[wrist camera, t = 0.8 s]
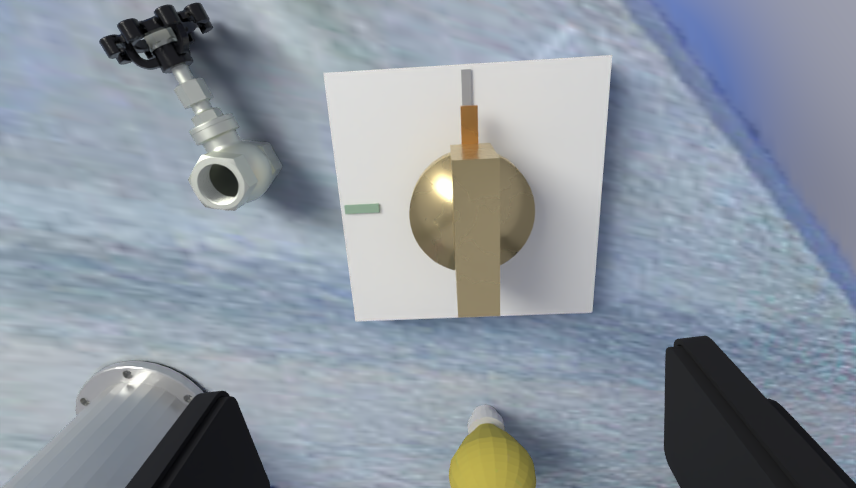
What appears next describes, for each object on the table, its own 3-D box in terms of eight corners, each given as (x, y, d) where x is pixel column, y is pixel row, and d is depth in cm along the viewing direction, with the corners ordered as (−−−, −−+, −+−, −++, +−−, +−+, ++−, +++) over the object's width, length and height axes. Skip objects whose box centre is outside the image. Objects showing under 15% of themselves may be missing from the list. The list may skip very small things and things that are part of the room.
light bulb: (535, 421, 42) (562, 521, 33) (476, 454, 44) (485, 559, 35) (493, 372, 41) (508, 463, 31) (433, 409, 42) (430, 506, 33)
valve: (309, 171, 35) (223, 8, 31) (281, 193, 29) (169, -6, 25) (235, 204, 36) (143, 51, 32) (192, 232, 30) (72, 47, 26)
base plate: (581, 294, 38) (593, 313, 35) (361, 302, 39) (355, 322, 36) (596, 56, 31) (613, 55, 28) (333, 72, 32) (322, 73, 29)
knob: (527, 262, 33) (549, 314, 26) (416, 266, 34) (409, 319, 27) (530, 99, 29) (558, 109, 22) (404, 106, 30) (392, 118, 23)
